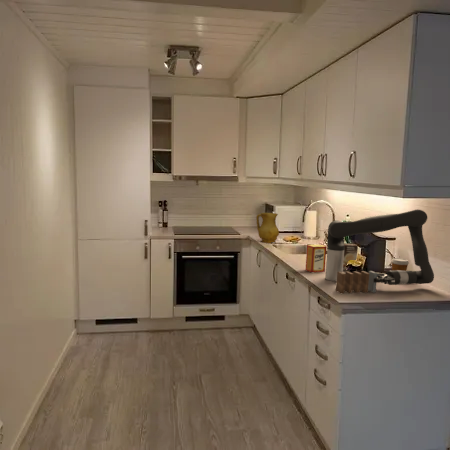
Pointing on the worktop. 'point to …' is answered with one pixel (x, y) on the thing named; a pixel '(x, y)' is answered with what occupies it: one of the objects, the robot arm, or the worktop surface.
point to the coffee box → (349, 253)
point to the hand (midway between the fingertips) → (369, 278)
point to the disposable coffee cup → (399, 264)
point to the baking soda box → (315, 258)
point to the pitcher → (267, 227)
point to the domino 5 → (372, 284)
